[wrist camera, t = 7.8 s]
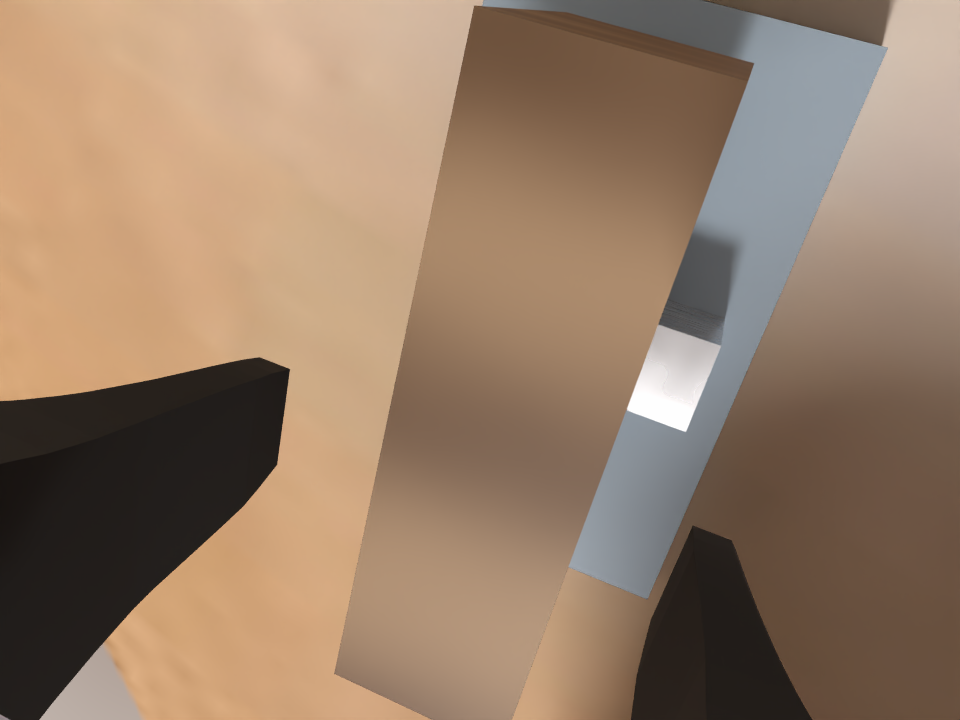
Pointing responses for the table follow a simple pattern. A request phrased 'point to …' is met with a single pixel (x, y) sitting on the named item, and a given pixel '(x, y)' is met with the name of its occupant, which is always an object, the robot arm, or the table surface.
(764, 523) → the table surface
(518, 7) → the blue-grey flat rectangular panel
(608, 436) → the walnut plank
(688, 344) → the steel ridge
